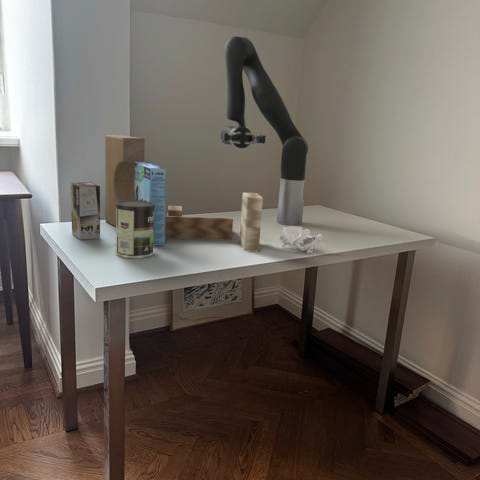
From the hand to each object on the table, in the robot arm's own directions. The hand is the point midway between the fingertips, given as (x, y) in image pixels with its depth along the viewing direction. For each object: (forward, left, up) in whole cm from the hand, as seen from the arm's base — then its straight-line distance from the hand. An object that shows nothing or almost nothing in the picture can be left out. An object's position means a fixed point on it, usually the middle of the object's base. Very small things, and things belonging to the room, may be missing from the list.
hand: (247, 139), depth 154 cm
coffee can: (+34, +28, -32) cm, 55 cm away
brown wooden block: (+16, +3, -32) cm, 36 cm away
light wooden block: (0, +17, -32) cm, 36 cm away
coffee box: (+50, +10, -32) cm, 60 cm away
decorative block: (+40, -6, -32) cm, 52 cm away
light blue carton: (+31, +10, -32) cm, 46 cm away
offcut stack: (+23, +3, -32) cm, 40 cm away
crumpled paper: (-15, +20, -32) cm, 41 cm away
